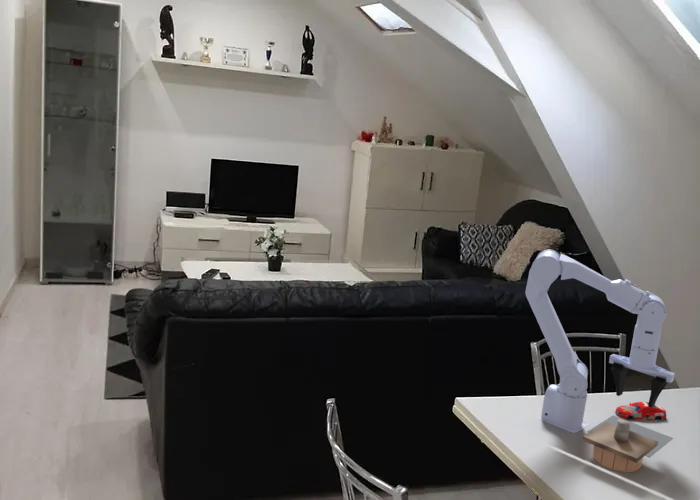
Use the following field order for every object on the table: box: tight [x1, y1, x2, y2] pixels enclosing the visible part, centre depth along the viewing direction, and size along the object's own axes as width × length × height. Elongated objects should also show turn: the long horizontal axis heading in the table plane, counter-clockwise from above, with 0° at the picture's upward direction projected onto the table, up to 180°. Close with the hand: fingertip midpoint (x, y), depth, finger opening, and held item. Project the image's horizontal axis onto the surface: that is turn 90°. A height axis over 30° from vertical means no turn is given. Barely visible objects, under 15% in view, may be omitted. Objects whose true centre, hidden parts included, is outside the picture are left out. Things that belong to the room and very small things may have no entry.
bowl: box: [591, 445, 644, 473], centre depth 150 cm, size 10×10×4 cm
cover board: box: [581, 418, 658, 463], centre depth 149 cm, size 12×12×5 cm
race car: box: [614, 401, 667, 421], centre depth 174 cm, size 13×5×4 cm, turn 97°
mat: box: [586, 415, 674, 458], centre depth 163 cm, size 15×15×1 cm
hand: (635, 400), depth 160 cm, fingers open, 7 cm apart
